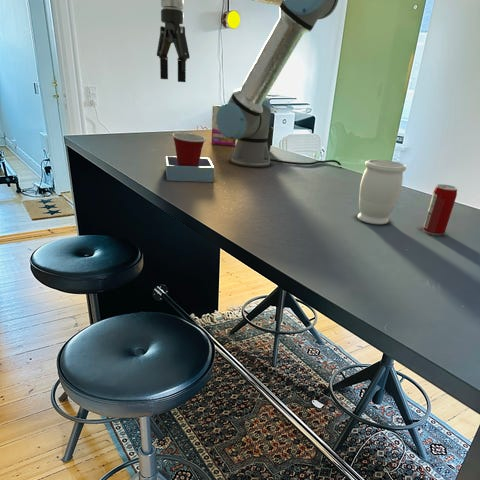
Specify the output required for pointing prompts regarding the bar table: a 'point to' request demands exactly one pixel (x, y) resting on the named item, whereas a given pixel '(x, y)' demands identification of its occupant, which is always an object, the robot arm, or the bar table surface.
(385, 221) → the jar
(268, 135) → the pen holder
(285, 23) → the robot arm
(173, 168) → the tray
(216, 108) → the candy bar box
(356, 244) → the bar table surface
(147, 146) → the bar table surface
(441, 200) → the soda can
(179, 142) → the plastic cup
